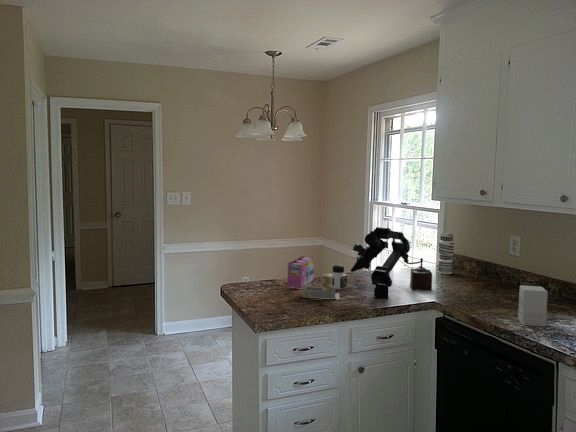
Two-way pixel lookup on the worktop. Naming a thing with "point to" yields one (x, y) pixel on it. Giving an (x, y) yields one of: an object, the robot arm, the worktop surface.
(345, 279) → the medicine bottle
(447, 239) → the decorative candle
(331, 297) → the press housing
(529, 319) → the supplement box
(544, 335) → the worktop surface
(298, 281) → the gum box
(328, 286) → the beige cube with disc
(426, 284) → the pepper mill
